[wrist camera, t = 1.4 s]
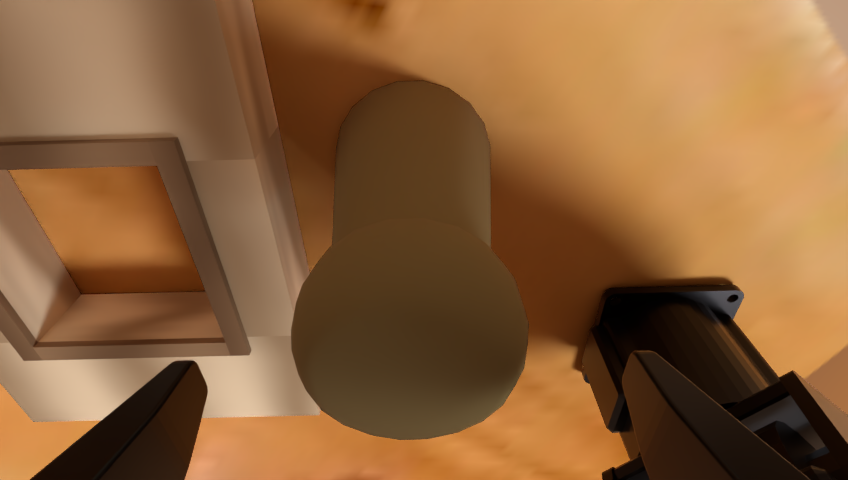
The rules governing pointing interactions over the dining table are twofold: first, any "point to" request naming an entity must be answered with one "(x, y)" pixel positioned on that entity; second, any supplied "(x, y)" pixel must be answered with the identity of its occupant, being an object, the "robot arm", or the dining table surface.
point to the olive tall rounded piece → (410, 275)
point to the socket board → (187, 189)
